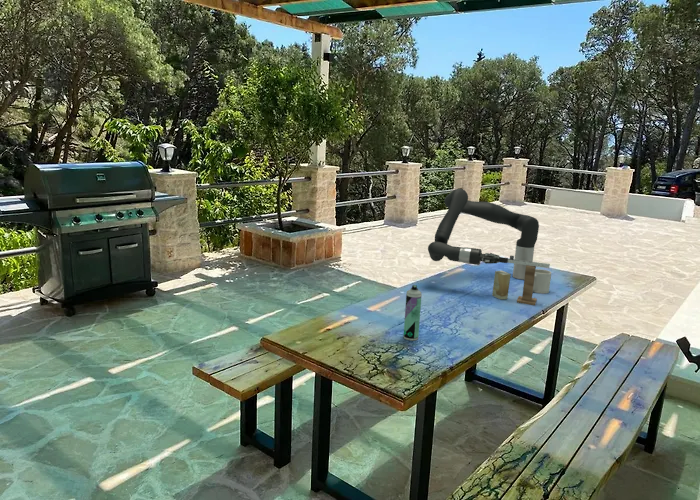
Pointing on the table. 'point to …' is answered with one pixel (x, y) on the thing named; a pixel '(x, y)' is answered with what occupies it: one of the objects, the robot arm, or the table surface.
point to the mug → (542, 281)
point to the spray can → (412, 314)
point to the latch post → (528, 287)
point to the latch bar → (527, 262)
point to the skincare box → (501, 285)
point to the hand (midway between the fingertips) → (508, 260)
